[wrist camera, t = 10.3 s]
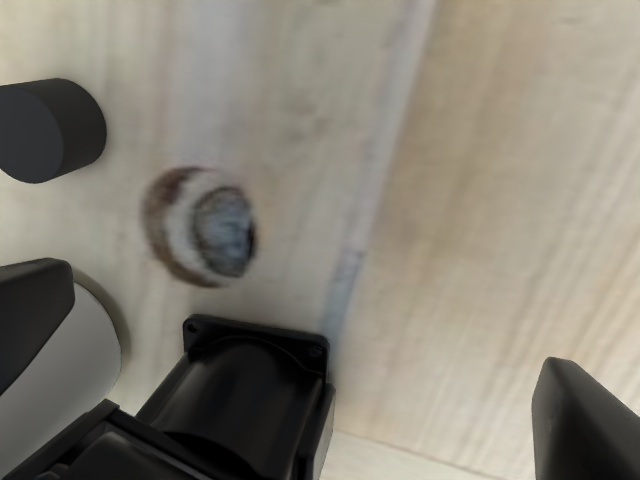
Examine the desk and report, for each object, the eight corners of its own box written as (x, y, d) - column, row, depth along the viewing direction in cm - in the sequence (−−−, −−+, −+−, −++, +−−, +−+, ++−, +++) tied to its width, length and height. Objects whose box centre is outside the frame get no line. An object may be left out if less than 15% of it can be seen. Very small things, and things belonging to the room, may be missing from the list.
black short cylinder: (37, 162, 21) (-12, 178, 19) (21, 74, 20) (-34, 81, 18) (111, 171, 21) (70, 189, 18) (100, 81, 19) (54, 89, 17)
